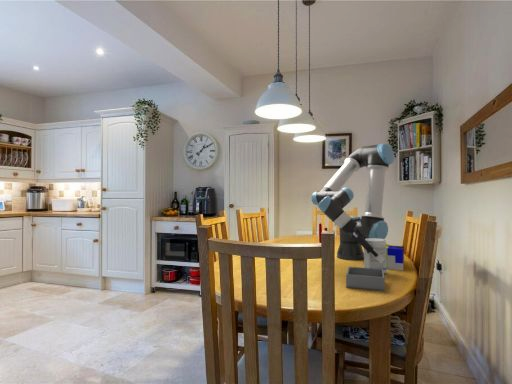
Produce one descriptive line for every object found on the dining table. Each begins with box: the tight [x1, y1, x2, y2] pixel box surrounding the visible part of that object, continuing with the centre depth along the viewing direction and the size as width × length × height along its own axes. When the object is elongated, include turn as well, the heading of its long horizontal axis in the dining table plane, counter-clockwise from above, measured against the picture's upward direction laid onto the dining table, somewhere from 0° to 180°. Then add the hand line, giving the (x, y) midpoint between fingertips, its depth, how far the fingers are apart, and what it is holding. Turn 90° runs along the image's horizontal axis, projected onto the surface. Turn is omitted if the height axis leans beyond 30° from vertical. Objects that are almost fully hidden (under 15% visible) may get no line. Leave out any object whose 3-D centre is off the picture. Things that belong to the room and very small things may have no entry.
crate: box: [345, 266, 386, 292], centre depth 120 cm, size 14×14×5 cm
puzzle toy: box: [386, 244, 405, 271], centre depth 150 cm, size 10×10×10 cm
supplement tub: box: [363, 238, 388, 274], centre depth 138 cm, size 10×10×15 cm
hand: (382, 259), depth 137 cm, fingers closed on supplement tub, 9 cm apart
